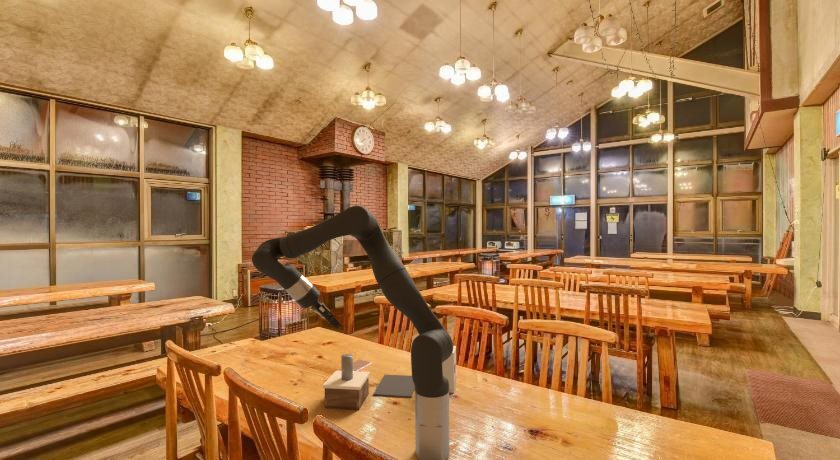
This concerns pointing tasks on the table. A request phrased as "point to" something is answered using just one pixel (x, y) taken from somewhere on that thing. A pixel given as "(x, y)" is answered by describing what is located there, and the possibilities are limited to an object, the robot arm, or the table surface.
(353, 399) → the walnut box
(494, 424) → the table surface
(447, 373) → the supplement box
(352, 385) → the lid
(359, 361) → the mobile phone
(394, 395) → the rubber mat
